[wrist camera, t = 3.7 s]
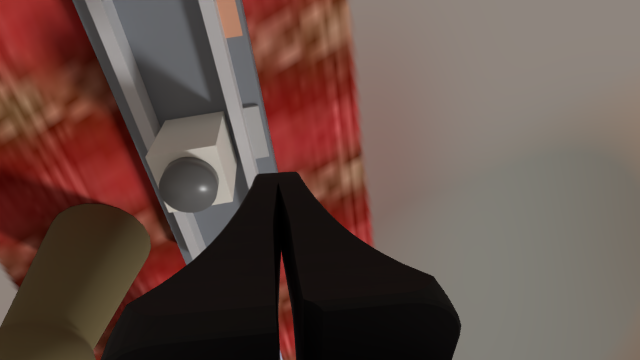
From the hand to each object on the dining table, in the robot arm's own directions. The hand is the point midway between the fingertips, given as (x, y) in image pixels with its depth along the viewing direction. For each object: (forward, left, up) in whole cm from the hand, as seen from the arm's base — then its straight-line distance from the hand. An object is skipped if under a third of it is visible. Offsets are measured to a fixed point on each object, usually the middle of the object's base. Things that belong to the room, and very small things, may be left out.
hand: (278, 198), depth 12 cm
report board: (-1, +4, -10) cm, 11 cm away
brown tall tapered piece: (-8, +13, -11) cm, 18 cm away
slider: (-1, +4, -9) cm, 10 cm away
